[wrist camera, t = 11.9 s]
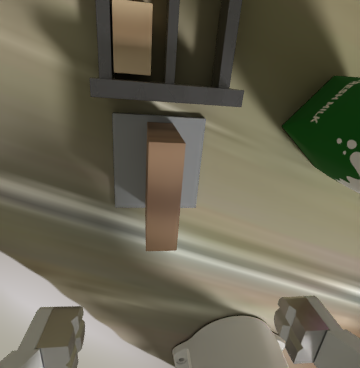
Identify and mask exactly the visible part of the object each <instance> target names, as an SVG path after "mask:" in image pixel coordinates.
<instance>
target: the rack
mask: <svg viewBox="0 0 360 368" xmlns="http://www.w3.org/2000/svg"><path fill="white" fill-rule="evenodd" d="M179 3H180V0H168V3H167V24H166V45H165V66H164V83H162V82H150V81H137V80H125V79H114V59H113V21H112V0H96V19H97V40H98V61H99V78H90V92H91V97H103V98H118V99H132V100H146V101H161V102H175V103H189V104H204V105H218V106H232V107H241V106H242V100H243V94H244V90H237V89H230V88H229V87H230V80H231V73H232V66H233V60H234V53H235V46H236V39H237V32H238V25H239V19H240V12H241V5H242V0H221V8H220V16H219V25H218V33H217V42H216V50H215V58H214V67H213V75H212V84H211V86H198V85H186V84H174V82H175V66H176V50H177V34H178V19H179Z"/></svg>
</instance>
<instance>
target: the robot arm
mask: <svg viewBox="0 0 360 368" xmlns="http://www.w3.org/2000/svg"><path fill="white" fill-rule="evenodd" d="M278 305H279V307H280V308H279V309H278V310H277V311H276V312H275V316H274V323H275V327H276V330H277V332H278V334H279V335H276V334H274V333H273V332H272V331H271V329H270V328H269V326H268V325H267V324H266V323H265V322H263V321H262V320H260V319H258V318H255V317H250V316H232V317H227V318H223V319H220V320H217V321H215V322H212V323H210V324H208V325H207V326H205V327H203V328H202V329H201V330H199V331H198V332H197V333H196V334H195V335H194V336H193V337H192V338H190V339H189V340H188V341H186V342H184V343H182V344H180V345H178V346H176V347H175V348H174V349H173V350H172V353H173V358H174V363H175V368H289V366H288V364H287V362H286V359H285V357H284V355H283V352H282V351H283V349H284V348H286V350H287V352H288V354H289V356H290V358H291V359H292V361H293V363H294V364H297V363H314V365H315V366H316V367H317V368H360V338H359V337H357V336H356V335H354V334H352V333H351V332H349V331H348V330H343V329H342V328H341V327H340V325H339V324H338V323H337V322H336V320H335V319H334V318H333V317H332V315H331V314H330V313H329V312H328V310H327V309H326V308H325V307H324V305H323V304H322V303H321V301H320V300H319V299H318V298H317V297H315V296H303V297H302V296H298V297H281V298H280V299H279V301H278ZM82 316H83V307H82V306H77V307H41V308H40V309H39V310H38V311H37V312H36V314H35V316H34V318H33V320H32V322H31V324H30V326H29V328H28V330H27V332H26V334H25V336H24V338H23V340H22V342H21V344H20V346H19V348H18V350H17V351H12V352H11V353H10V354H8V355H7V356H6V357H5V358H4V359H3V360H2V361H0V368H77V365H78V355H77V353H78V352H79V351H80V350H81V349H82V345H83V340H84V334H85V322H84V321H83V320H82ZM284 340H285V341H286V342H285V343H284Z"/></svg>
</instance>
